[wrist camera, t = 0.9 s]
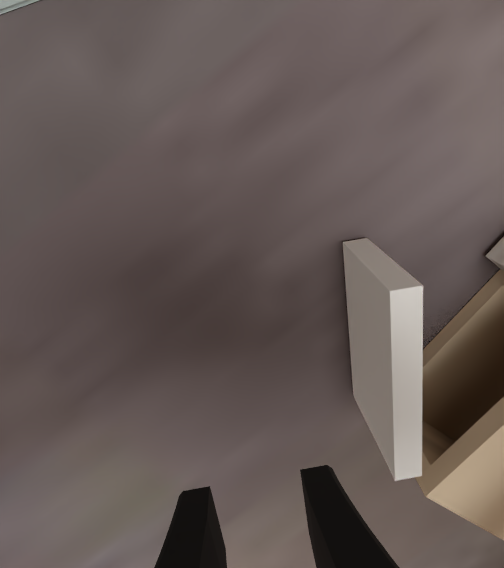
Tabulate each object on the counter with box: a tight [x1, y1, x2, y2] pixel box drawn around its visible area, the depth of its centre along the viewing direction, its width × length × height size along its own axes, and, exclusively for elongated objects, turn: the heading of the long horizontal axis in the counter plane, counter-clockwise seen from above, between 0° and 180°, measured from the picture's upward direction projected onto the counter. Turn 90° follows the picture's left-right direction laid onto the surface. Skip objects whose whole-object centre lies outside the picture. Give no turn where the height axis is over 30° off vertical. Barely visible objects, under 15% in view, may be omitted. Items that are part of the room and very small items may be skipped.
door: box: [343, 238, 423, 481], centre depth 17 cm, size 1×8×5 cm, turn 8°
